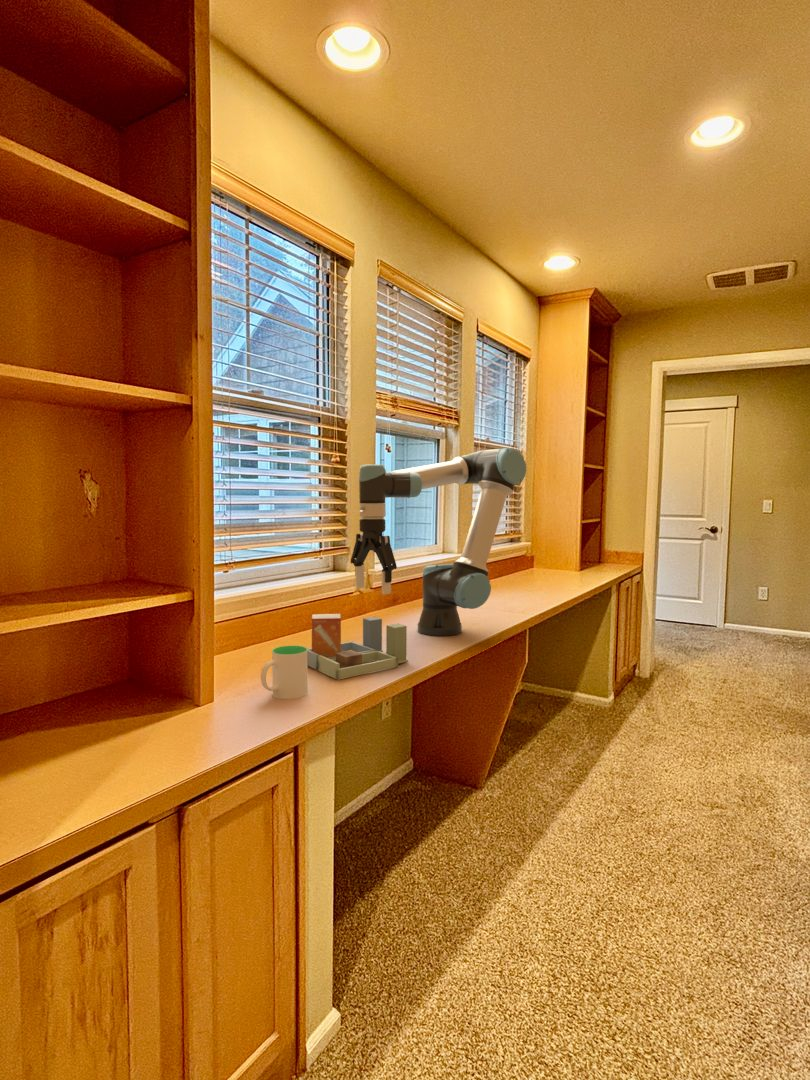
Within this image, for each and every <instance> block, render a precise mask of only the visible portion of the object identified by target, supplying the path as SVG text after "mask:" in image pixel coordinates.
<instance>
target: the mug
mask: <svg viewBox="0 0 810 1080" xmlns="http://www.w3.org/2000/svg"><path fill="white" fill-rule="evenodd" d="M307 649H308V648H307V647H306V646H302V645H299V646H295V645H284V646H283V645H282V646H278V647H274V648H272V649H271V650H272V651H271V655H272V656H271V658H272V659H271V660H268V661H267V662H265V663H264V665H263V666H262V668H261V671H260V682H261V685H262V687H263V688H264V689H265V690H267V691H271V692H272V696H273V697H274V698H277V699H280V700H294V699H295V700H296V699H299V698H303V697H305V696H306V695H307V694H308V692H309V691H308V688H309V687H308V678H309V677H308V665H307ZM270 667H272V668H271V669H272V673H271V674H272V675H271V676H272V685H271V686H269V685H268V683H267V674H268V670H269V668H270Z"/></svg>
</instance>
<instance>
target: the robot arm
mask: <svg viewBox="0 0 810 1080" xmlns="http://www.w3.org/2000/svg"><path fill="white" fill-rule="evenodd" d="M358 473H359V474H358V476H359V477H358V485H359V486H358V488H359V491H358V492H359V494H358V496H359V517H360V519H359V532H362V533H356V535H355V543H354V547H353V549H352V554H351V558H350V564H353V566H354V572H355V573H354V574H355V575H354V577H355V589H364V588H365V560H366V559H367V557H368V554H369V553H370V551H372V552H374V553H375V554H376V557H377V559H378V560H379V563H380V565H381V567H382V570H381V595H390V594H392V575H393V574H392V572H393V570H396V569H397V568H398V567H397V562H396V559H395V556H394V552H393V549H392V545H391V537H390V535H383V532H384V533H385V531H386V519H385V517H386V516H387V515H386V498H398V499H399V498H402V499H403V498H407V499H411V498H417V497H418V496H420V494H421V493H422V490H426V489H431V488H436V487H441V486H445V485H446V486H447V485H450V484H451V485H452V484H457V485H460V486H461V485H466V484H467V485H469V484H470V485H471V484H475V485H478V487H480V493H479V496H478V499H477V503H476V506H475V509H474V513H473V515H472V518H471V522H470V525H469V529H468V531H467V535H466V538H465V540H464V541H465V542H464V545H463V549H462V552H461V553H460V554H461V555H460V557H459V558H457V559H456V560H454V561H453V563H448V564H447V563H446V564H445V563H444V564H431V565H430V564H429V565H425V566H424V567H423V571H422V577H421V578H422V610H421V613H420V617H419V620H418V622H417V632H418V633H420V634H422V635H423V634H424V635H426V636H436V637H437V636H441V637H442V636H446V637H447V636H455V635H459V634H461V633H462V631H463V630H462V628H463V626H462V625H463V624H462V622H461V619H460V615H459V612H458V607H459V608H462V609H470V610H473V609H478V608H480V607H481V606H483V605H484V604H485V603H486V602H487V601H488V599H489V597H490V594H491V592H492V585H491V580H490V579H489V578H488V576H489V569H488V568H487V562H488V560H489V555H490V552H491V550H492V548H493V547H492V546H493V543H494V540H495V536H496V533H497V530H498V526H499V523H500V520H501V516H502V513H503V510H504V507H505V502H506V499H507V497H508V496H510V495H511V494H513V493H514V489H515V485H518V484H520V482H523V481H524V479H525V478H526V474H527V463H526V460H525V458H524V455H523V454H522V453H521V451H519V450H517V449H515V448H514V447H513V448H512V447H501V448H494V449H493V448H492V449H483V450H479V451H474V452H471V453H469V454H464V455H461V456H455V457H454V458H453V459H452V460H450V461H443V462H438V463H433V464H426V465H420V466H416V467H415V466H414V467H409V468H404V469H397V470H393V471H387V470H386V466H385V465H384V464H371V463H370V464H362V465H360V467H359V471H358Z"/></svg>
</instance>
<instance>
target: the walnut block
mask: <svg viewBox="0 0 810 1080" xmlns="http://www.w3.org/2000/svg"><path fill="white" fill-rule="evenodd" d="M336 662H337V663H340V668H345V667H350V666H355V665H360V664H363V663H362V654H360V653H358V652H355V651H353V650H349V651H343V652H339V653H336Z"/></svg>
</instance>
